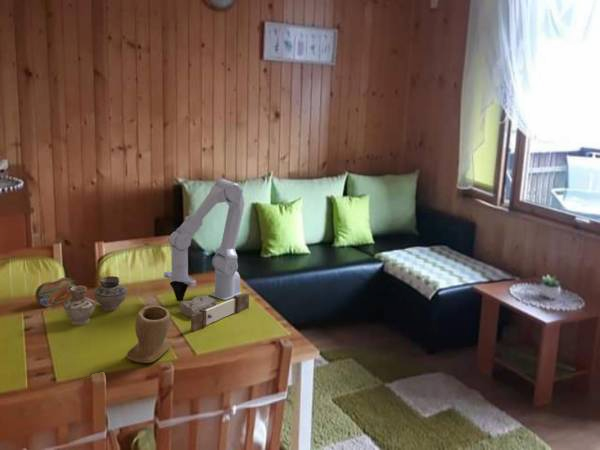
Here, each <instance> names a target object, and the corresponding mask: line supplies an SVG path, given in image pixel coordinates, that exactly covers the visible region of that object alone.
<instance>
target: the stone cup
mask: <svg viewBox="0 0 600 450" xmlns="http://www.w3.org/2000/svg"><path fill="white" fill-rule="evenodd" d="M170 325H171V315H170V311H169V310H168V309H167V308H165V307H163V306H161V305H147V306H145V307H142V309H141V310H139V311H138V313H137V315H136V317H135V335H136V338H137V341H138V343H136V344H134V346H132V347H131V348H130V349H129V350H128V351H127V353H126V357H127V359H129V360H131V361H133V362H137V363H143V364H146V363H153V362H155V361H157V360H158V359H159V358H161V357H162V356H163V355H164V354H165V353H166V352H167V351H168V350H169V349H170V348H171V347H172V346H173V345H174V344H173V341H172V340H170V339H169V338H168V337H166V336H167V333H168V331H169V328H170Z"/></svg>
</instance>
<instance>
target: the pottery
mask: <svg viewBox="0 0 600 450" xmlns="http://www.w3.org/2000/svg"><path fill="white" fill-rule="evenodd" d="M70 290H71V293H72V298H71V299H69V300H68V301H66V302H63V305H62V307H63V309H64V312H65V313H66V316H67V317H68V318H70V319H71V324H72V325H74V326H83V325H88V324H89V323H90V322H91V320H90V317H92V315H93V313H94V311H95V308H96V302H97V303H98V304H99V305H101V307H102V309H103V310H104V311H108V312H109V311H115V310H119V308H120V305H121V304H122V303H123V302H124V301H125V299H126V297H127V294H128V289H127V288H126V286H123V285H121V284H120V278H119V277H118V276H116V275H115V276H114V275H110V276H109V275H108V276H104V277H101V279H100V285H99V286H97V287H96V288H95V289H94V290H93V295H94V296H93V297H94V300H93V299H91V298H90V297H87V291H88V287H87V286H86V285H77V286H74V287H72V288H71V289H70ZM95 300H96V301H95Z"/></svg>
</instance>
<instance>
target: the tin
mask: <svg viewBox="0 0 600 450" xmlns="http://www.w3.org/2000/svg"><path fill="white" fill-rule="evenodd" d="M74 286H78V284H77V282H76V280H74V278H70V277H61V278H57V279H54V280H51V281H47V282H46V281H45V282H44V283H41V284H40V285H39V286H38V287H37V288H36V289H35V300H36V302H37V303H38V304H39V305H41V306H43V307H46V308H49V307H52V306H56V305H59V304H64V303H65V302H66V301H68V300H69V299H71V298H72V293H71V290H70V289H71V288H72V287H74Z"/></svg>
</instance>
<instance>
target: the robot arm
mask: <svg viewBox="0 0 600 450" xmlns="http://www.w3.org/2000/svg"><path fill="white" fill-rule="evenodd" d="M243 192H244V190H243V188H242V187H241V186H240V184H239V183H236V182H233V181H230V180H227V179H226V178H219V179H218V180H216V182H215V183H214V184H213V185H212V186H211V188H210V191H209V193H208V194H207V195H206V197H205V199H204V200H203V201H202V203H201V204H200V206H199V207H198V209H197V210H196V211H195V213H192V214H191V213H190V214H189V215H188V216H185V218H184V221H183V222H182V223H181V225H180V226H179V227H178V228H176V230H175V231H172V233H171V234H170V235H169V238H168V239H167V241H168V242H169V244H170V245H171V246H170V247H171V251H170V252H171V255H170V256H171V271H170V270H169V271H168V270H167V271H164V272H163V277H164V278H166V279H169V281H170V282H169V285H170V286H171V288H172V290H173V294H174V295H175V299H176V301H177V302H179V303H180V302H182V301H184V299H185V298H184V297H185V295H186V292H187V289H188V288H189V286H190V287H191V288H193V287H196V286H197V280H195V279H194V278H192V277H191V276H190V275H189V260H188V259H189V248H190V246H191V244H192V239H193V237H194V236H195V234H196V233H197V232H198V231H199V230H200V228H201V227H202V226H203V220H204V218H205V217H206V216H207V215H208V214H209V213H210V212H211V211H212V209H214V208H215V206H216V205H217V204H220V203H226V204H227V205H228V210H227V216H226V218H225V219H226V220H225V225H224V229H223V234H222V237H221V244H220V247H218V248H217V249H216V251H215V255H214V256H213V257H212V261H211V264H212V267H214V271H215V272H214V292H212V293H209V296H211V297H214V298H217V299H219V300H223V301H228V300H231V299H233V298H234V296H235V295H238V296H239V295H241V294H243V292H241V275H240V273H239V271H238V268H239V264H238V254H237V252H236V246H237V242H238V241H237V240H238V237H239V232H240V227H241V222H242V220H243V219H242V218H243V214H244V208H245V201H244V196H243Z"/></svg>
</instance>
